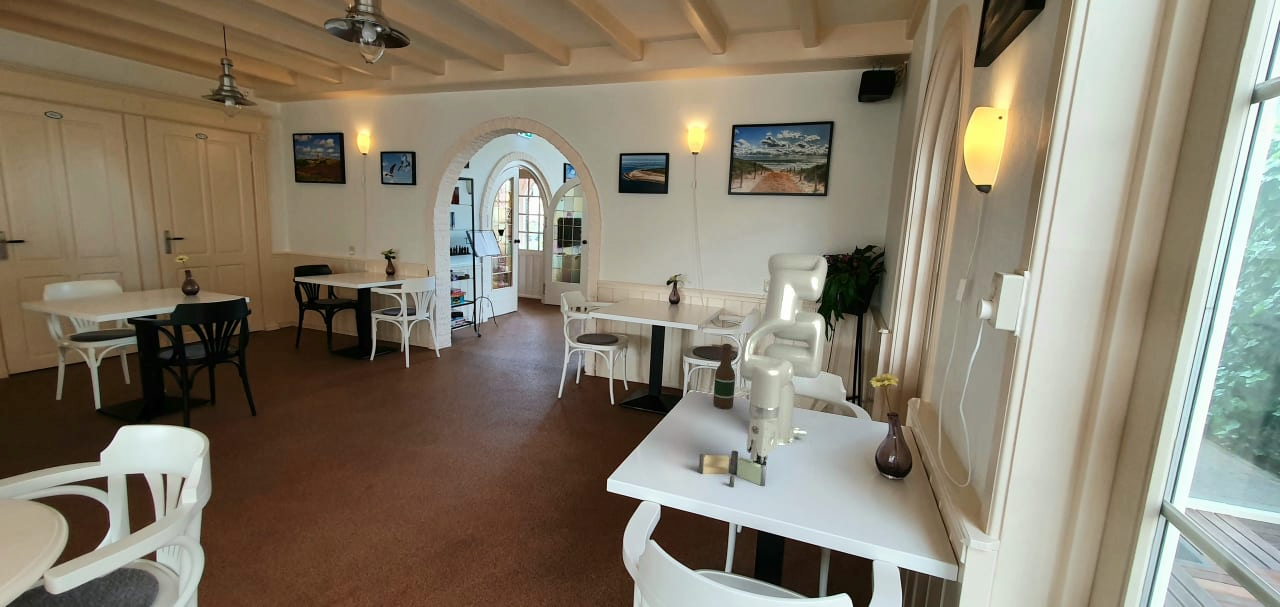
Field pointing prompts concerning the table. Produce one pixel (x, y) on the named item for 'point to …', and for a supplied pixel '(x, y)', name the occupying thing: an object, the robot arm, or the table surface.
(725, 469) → the wooden bar grey posts
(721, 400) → the beer bottle
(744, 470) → the hinged panel
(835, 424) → the table surface
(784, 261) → the robot arm
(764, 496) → the table surface
